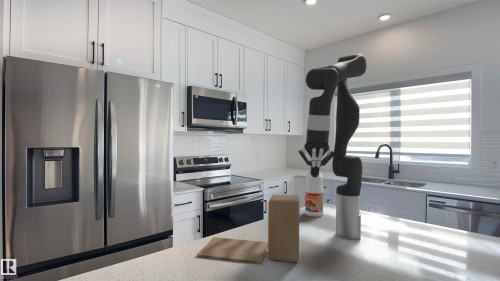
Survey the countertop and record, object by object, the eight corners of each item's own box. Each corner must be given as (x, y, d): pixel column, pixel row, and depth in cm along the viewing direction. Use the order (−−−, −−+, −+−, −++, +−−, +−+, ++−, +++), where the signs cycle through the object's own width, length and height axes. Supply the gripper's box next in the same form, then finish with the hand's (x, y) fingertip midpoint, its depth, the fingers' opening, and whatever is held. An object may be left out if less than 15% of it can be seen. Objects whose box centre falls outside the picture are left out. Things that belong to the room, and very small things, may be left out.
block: (298, 264, 83) (299, 201, 83) (267, 260, 85) (268, 199, 85) (299, 250, 93) (299, 194, 93) (271, 248, 95) (271, 193, 95)
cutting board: (268, 244, 98) (268, 242, 98) (261, 264, 83) (261, 261, 83) (213, 239, 103) (213, 237, 103) (196, 256, 88) (196, 254, 88)
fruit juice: (326, 216, 135) (326, 162, 135) (309, 217, 133) (309, 162, 133) (318, 211, 144) (318, 160, 144) (302, 212, 142) (302, 161, 142)
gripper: (334, 127, 93) (330, 174, 96) (297, 126, 93) (294, 172, 96) (341, 130, 86) (336, 180, 89) (300, 128, 86) (297, 179, 89)
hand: (314, 176), depth 92 cm, fingers closed
